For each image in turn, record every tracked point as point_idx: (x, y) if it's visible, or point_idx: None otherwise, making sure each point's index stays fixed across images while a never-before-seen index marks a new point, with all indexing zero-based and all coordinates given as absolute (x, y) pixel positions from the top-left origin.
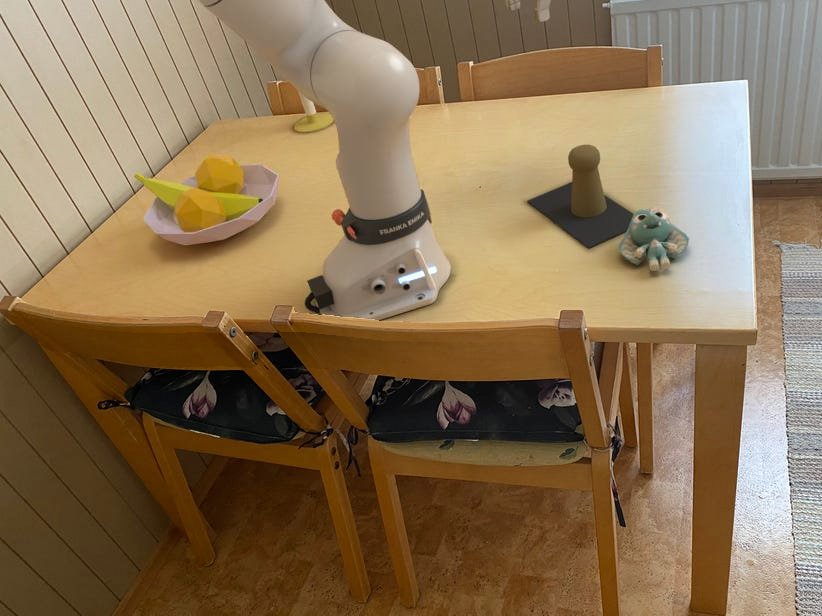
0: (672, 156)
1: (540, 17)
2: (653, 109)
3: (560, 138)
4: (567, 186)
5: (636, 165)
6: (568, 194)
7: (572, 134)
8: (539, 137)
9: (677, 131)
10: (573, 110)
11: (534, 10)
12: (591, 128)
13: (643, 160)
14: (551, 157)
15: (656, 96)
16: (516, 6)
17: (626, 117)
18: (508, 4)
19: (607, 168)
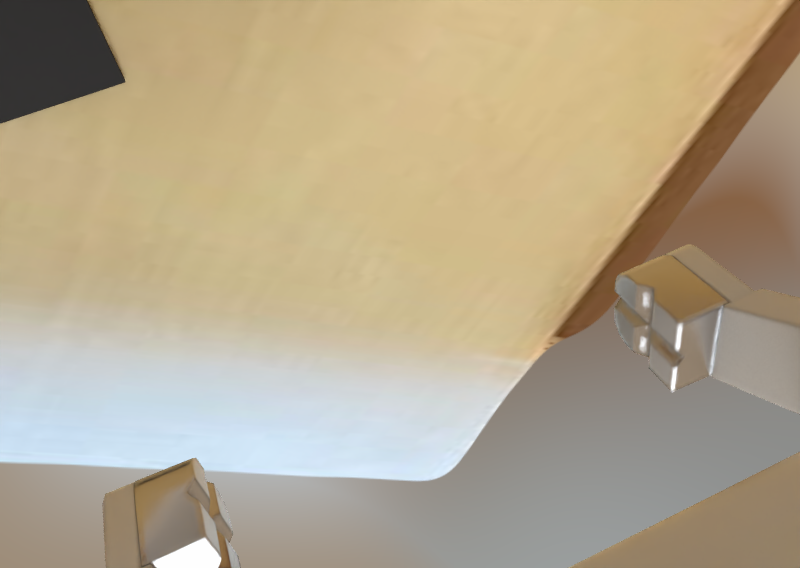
0: (166, 341)
1: (110, 524)
2: (443, 333)
3: (447, 87)
4: (78, 28)
5: (154, 255)
6: (8, 16)
7: (448, 127)
8: (497, 25)
9: (298, 365)
10: (580, 159)
11: (200, 526)
12: (447, 184)
13: (177, 276)
14: (340, 28)
15: (499, 347)
16: (628, 320)
17: (446, 274)
18: (681, 280)
19: (172, 178)
